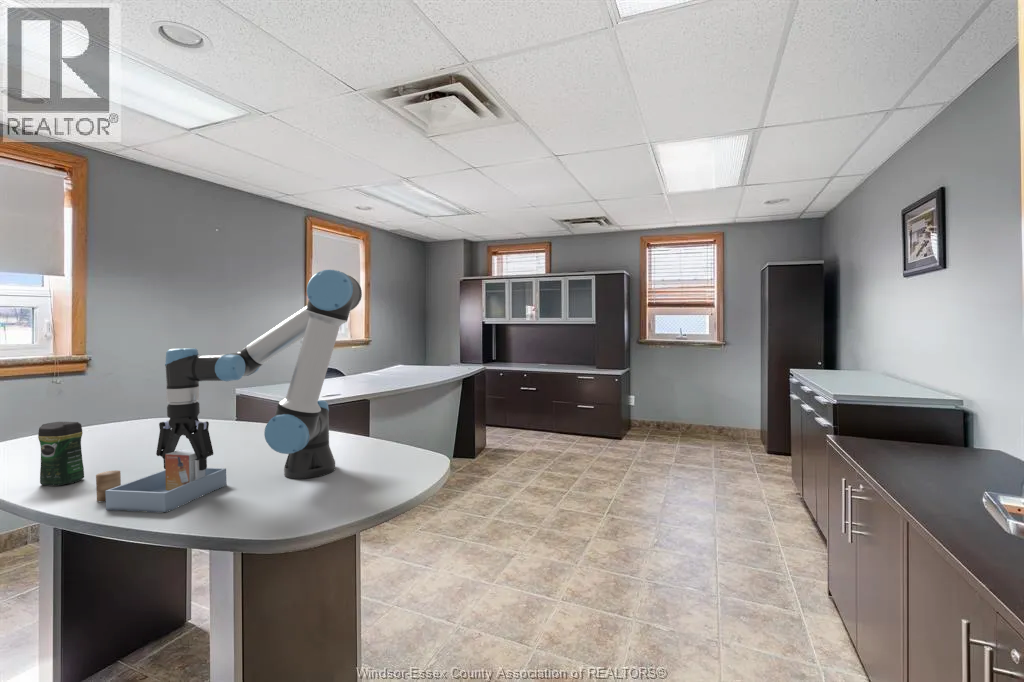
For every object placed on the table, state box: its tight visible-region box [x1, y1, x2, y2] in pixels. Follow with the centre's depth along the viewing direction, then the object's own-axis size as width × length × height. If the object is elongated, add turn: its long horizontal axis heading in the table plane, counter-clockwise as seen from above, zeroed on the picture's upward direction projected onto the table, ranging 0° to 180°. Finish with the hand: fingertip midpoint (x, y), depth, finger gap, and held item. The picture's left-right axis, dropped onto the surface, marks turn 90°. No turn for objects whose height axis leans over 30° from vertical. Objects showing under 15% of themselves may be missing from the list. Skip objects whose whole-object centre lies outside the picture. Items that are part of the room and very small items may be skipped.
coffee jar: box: [37, 421, 85, 487], centre depth 137 cm, size 10×8×19 cm
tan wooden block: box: [95, 469, 122, 502], centre depth 124 cm, size 5×5×7 cm
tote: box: [105, 467, 228, 513], centre depth 125 cm, size 17×20×5 cm
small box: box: [164, 448, 202, 490], centre depth 130 cm, size 8×6×10 cm
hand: (185, 480), depth 130 cm, fingers open, 9 cm apart
